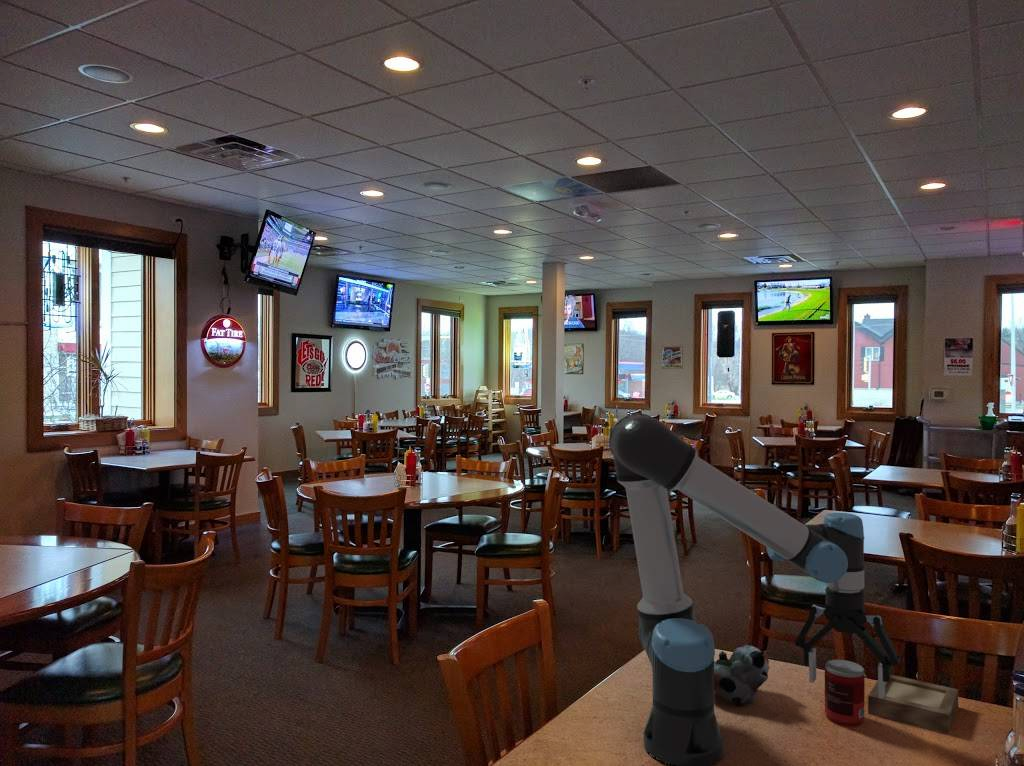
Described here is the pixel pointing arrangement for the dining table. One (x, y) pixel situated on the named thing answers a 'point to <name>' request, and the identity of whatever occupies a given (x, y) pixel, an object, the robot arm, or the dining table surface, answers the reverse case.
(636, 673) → the dining table surface
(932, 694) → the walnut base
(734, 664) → the lucky cat figurine
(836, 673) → the canned food
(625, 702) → the dining table surface
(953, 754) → the dining table surface
